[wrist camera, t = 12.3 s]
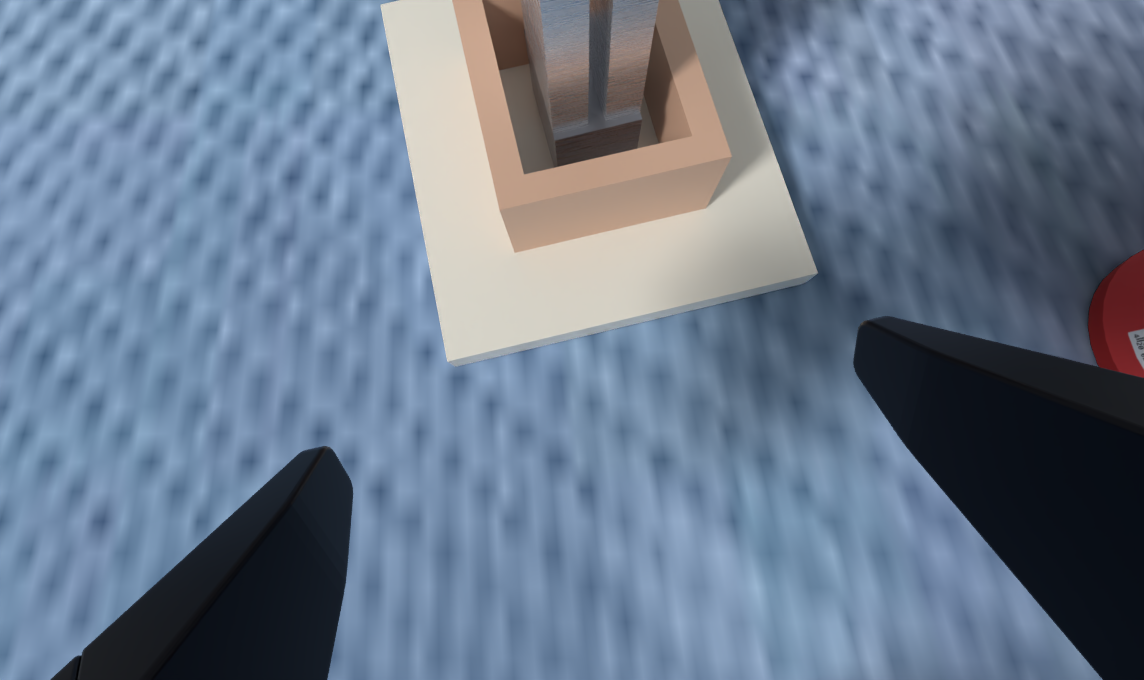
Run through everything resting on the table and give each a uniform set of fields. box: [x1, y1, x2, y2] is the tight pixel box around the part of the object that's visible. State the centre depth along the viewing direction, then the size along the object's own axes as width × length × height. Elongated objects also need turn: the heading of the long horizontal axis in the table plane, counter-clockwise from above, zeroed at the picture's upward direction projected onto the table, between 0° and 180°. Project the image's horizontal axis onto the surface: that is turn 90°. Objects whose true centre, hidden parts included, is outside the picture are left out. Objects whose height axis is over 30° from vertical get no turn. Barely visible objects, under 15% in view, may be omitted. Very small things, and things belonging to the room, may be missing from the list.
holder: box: [381, 0, 818, 367], centre depth 19 cm, size 16×14×5 cm
